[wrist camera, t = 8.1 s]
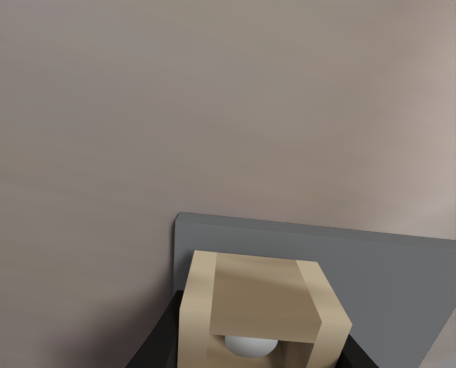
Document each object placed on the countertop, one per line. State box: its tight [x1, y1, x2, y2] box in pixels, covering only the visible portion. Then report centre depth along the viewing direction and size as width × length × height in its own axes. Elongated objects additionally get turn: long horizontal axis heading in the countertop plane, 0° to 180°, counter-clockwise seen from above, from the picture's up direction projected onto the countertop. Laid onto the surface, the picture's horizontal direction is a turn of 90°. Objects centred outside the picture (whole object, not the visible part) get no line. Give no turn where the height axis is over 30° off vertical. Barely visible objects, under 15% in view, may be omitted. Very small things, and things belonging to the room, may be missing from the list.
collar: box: [177, 250, 352, 368], centre depth 9 cm, size 6×6×3 cm
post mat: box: [173, 212, 456, 368], centre depth 12 cm, size 14×16×4 cm
